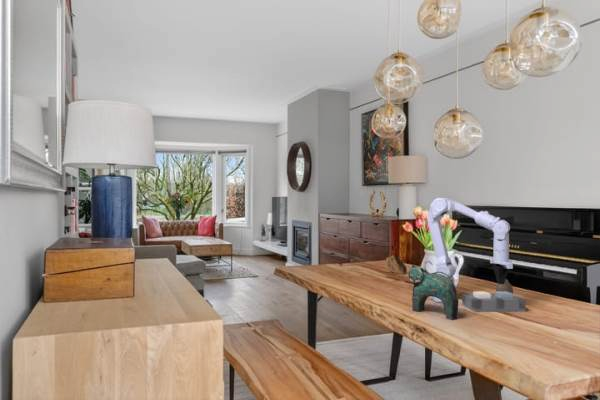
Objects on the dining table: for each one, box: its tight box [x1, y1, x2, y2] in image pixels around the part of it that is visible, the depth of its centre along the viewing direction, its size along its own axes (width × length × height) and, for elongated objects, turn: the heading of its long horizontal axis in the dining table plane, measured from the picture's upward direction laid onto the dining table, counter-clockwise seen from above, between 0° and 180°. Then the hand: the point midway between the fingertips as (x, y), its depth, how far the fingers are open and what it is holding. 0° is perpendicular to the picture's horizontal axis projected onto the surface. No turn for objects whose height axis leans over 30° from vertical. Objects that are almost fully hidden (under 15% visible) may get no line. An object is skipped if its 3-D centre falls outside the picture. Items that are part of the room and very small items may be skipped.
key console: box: [461, 292, 527, 313], centre depth 176 cm, size 20×12×4 cm, turn 92°
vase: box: [495, 278, 514, 295], centre depth 191 cm, size 7×7×9 cm
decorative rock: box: [385, 254, 408, 275], centre depth 259 cm, size 12×6×11 cm, turn 50°
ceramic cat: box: [408, 260, 459, 321], centre depth 166 cm, size 20×6×20 cm, turn 37°
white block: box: [472, 291, 491, 298], centre depth 176 cm, size 5×5×4 cm
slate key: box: [494, 290, 514, 298], centre depth 176 cm, size 5×5×4 cm
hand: (500, 283), depth 177 cm, fingers closed
